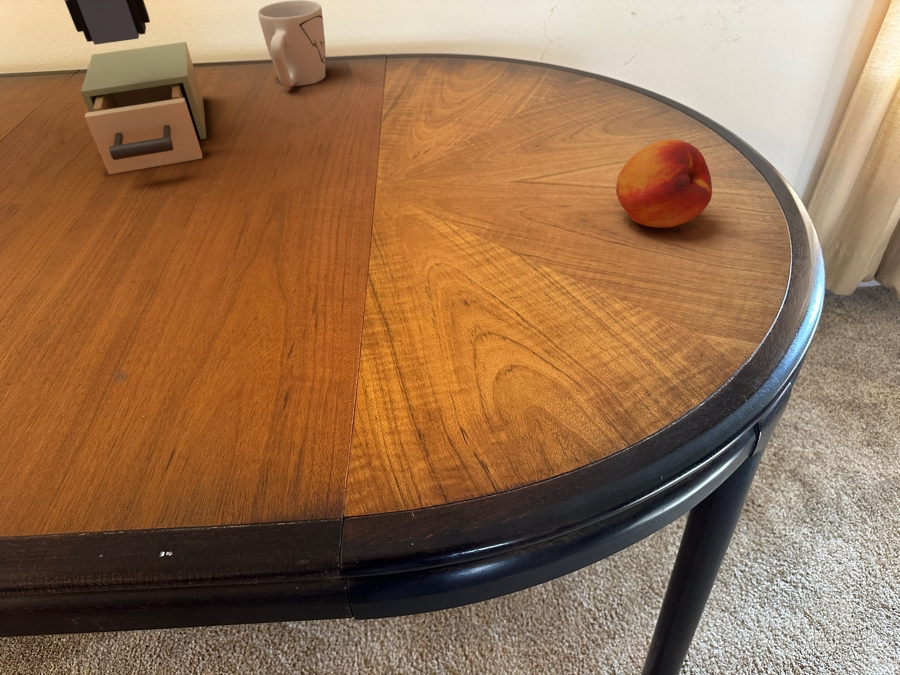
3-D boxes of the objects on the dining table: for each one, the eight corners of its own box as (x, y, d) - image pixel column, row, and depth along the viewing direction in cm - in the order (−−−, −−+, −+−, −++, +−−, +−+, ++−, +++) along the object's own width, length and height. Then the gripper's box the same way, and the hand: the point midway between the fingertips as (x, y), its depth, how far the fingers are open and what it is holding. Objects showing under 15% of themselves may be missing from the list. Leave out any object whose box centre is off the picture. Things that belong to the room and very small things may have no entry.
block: (94, 44, 67) (76, -2, 64) (98, 33, 70) (80, -12, 67) (138, 38, 68) (122, -8, 65) (140, 27, 71) (125, -18, 68)
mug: (316, 103, 88) (301, 25, 81) (257, 102, 89) (238, 25, 83) (340, 73, 96) (328, -1, 90) (286, 72, 98) (271, 0, 91)
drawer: (204, 178, 71) (184, 119, 67) (105, 196, 69) (78, 136, 65) (199, 118, 84) (183, 65, 79) (116, 131, 82) (95, 77, 77)
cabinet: (208, 145, 79) (187, 75, 74) (110, 162, 77) (80, 91, 72) (205, 105, 89) (186, 41, 84) (117, 119, 87) (91, 54, 81)
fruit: (648, 254, 58) (663, 172, 53) (595, 213, 64) (604, 135, 58) (716, 231, 60) (738, 150, 55) (660, 193, 66) (674, 117, 61)
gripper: (-83, -176, 53) (25, 57, 65) (135, -192, 56) (199, 32, 68) (-58, -180, 58) (37, 36, 70) (139, -194, 61) (198, 14, 74)
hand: (116, 32), depth 69 cm, fingers closed on block, 4 cm apart
